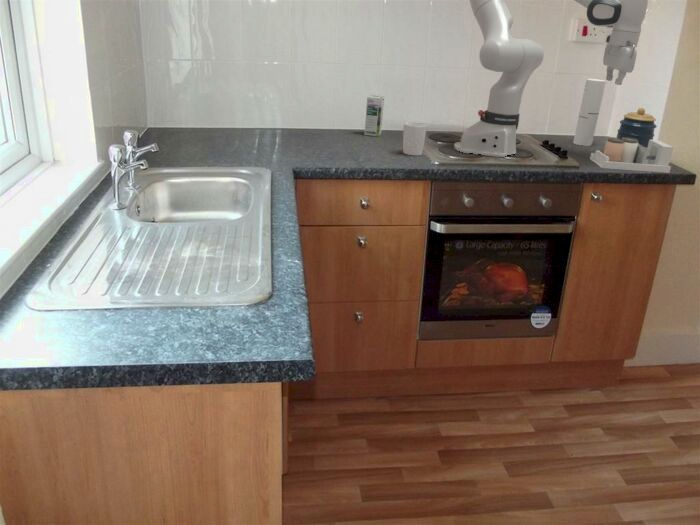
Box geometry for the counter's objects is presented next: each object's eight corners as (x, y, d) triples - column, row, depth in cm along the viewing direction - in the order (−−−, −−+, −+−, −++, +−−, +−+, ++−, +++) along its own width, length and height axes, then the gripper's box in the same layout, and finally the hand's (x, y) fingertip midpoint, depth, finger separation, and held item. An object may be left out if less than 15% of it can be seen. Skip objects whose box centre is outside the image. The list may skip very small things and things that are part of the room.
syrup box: (363, 135, 243) (366, 96, 237) (366, 132, 248) (370, 94, 242) (378, 136, 242) (382, 97, 236) (381, 133, 247) (384, 95, 241)
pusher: (640, 168, 219) (645, 148, 216) (629, 161, 228) (633, 142, 225) (670, 171, 219) (676, 151, 216) (658, 163, 228) (663, 144, 226)
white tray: (602, 169, 218) (608, 143, 214) (589, 160, 230) (595, 135, 226) (668, 174, 218) (676, 148, 214) (652, 165, 230) (659, 139, 226)
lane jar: (615, 164, 224) (621, 139, 220) (614, 161, 229) (620, 136, 225) (633, 167, 222) (640, 141, 218) (632, 163, 227) (638, 138, 224)
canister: (607, 153, 244) (617, 106, 237) (620, 149, 253) (631, 103, 246) (641, 160, 236) (653, 112, 229) (653, 156, 245) (665, 109, 238)
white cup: (426, 152, 223) (429, 124, 219) (420, 157, 216) (424, 127, 212) (404, 149, 225) (407, 121, 221) (398, 154, 218) (401, 124, 214)
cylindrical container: (592, 146, 253) (607, 81, 243) (574, 144, 254) (587, 80, 244) (590, 143, 260) (604, 79, 250) (572, 141, 261) (585, 78, 251)
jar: (623, 166, 221) (629, 141, 218) (607, 166, 220) (613, 140, 216) (612, 162, 227) (618, 137, 223) (597, 162, 225) (603, 136, 222)
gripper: (645, 44, 204) (633, 88, 210) (622, 38, 222) (612, 79, 228) (625, 42, 204) (614, 86, 210) (604, 36, 222) (595, 77, 228)
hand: (613, 82), depth 219 cm, fingers open, 8 cm apart
